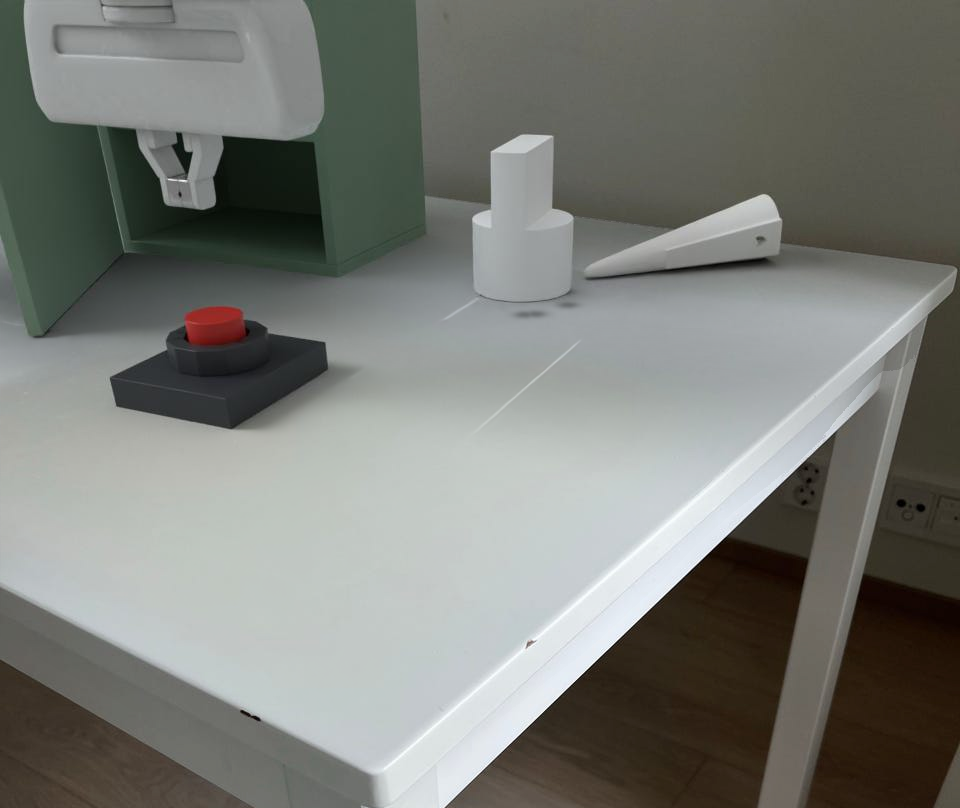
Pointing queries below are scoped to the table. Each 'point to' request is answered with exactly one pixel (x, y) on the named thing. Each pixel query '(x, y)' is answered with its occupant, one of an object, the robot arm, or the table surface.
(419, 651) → the table surface
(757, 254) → the white tapered wedge
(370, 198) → the cupboard
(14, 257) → the door
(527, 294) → the cylinder with rectangular tab
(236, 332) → the button
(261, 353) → the button box
